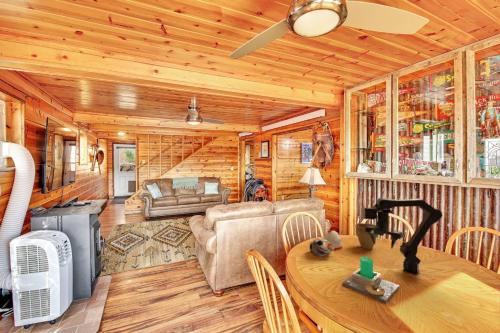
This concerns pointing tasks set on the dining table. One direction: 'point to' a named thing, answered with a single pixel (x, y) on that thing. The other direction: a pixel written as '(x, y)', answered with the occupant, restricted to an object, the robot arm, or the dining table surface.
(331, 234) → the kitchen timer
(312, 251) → the lucky cat figurine
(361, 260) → the candle
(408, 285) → the dining table surface
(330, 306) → the dining table surface
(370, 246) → the plant pot
